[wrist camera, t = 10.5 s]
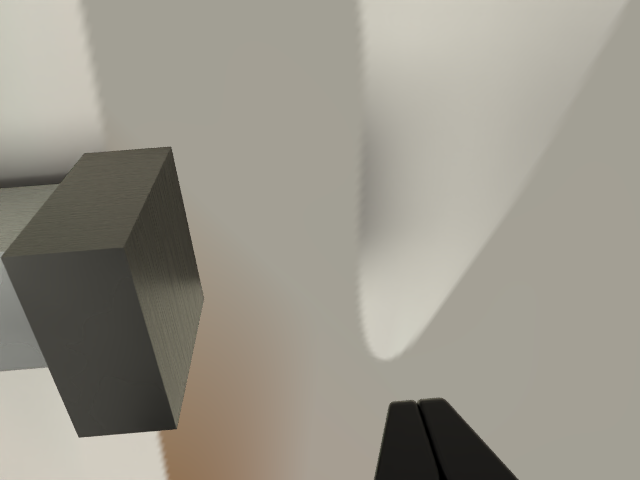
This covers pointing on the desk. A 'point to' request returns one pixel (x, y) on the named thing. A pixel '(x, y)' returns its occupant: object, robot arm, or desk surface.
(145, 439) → the desk surface
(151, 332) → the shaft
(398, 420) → the robot arm
